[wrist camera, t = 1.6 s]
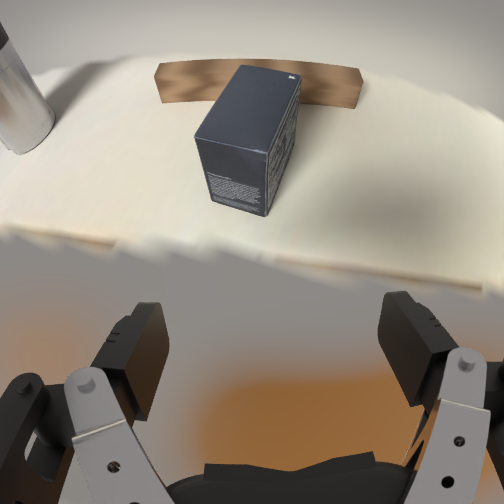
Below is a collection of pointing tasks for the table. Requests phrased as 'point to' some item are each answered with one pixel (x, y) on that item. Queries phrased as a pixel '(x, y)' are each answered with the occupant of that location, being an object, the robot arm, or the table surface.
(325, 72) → the walnut board
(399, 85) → the table surface
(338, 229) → the table surface
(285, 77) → the small box
